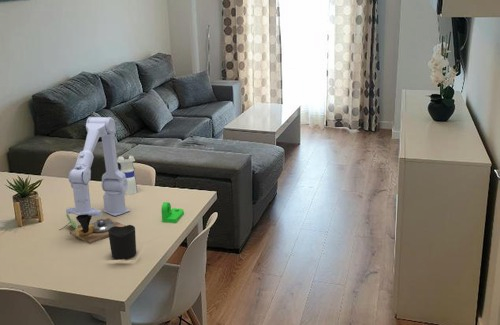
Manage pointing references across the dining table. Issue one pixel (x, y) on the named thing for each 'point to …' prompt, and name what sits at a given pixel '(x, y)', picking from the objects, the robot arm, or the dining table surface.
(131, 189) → the water bottle
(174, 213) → the mechanical part
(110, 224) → the pan with wooden handle
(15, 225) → the dining table surface
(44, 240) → the dining table surface
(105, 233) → the board
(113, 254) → the pen holder
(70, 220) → the seedling
